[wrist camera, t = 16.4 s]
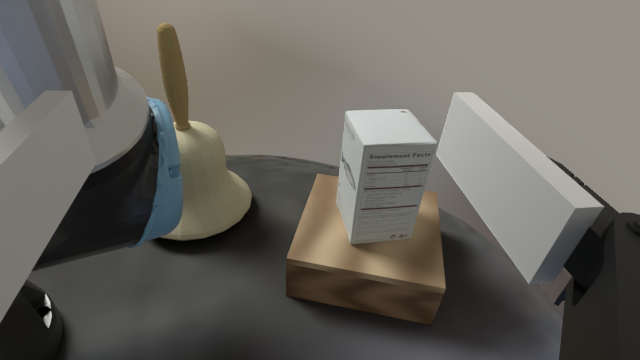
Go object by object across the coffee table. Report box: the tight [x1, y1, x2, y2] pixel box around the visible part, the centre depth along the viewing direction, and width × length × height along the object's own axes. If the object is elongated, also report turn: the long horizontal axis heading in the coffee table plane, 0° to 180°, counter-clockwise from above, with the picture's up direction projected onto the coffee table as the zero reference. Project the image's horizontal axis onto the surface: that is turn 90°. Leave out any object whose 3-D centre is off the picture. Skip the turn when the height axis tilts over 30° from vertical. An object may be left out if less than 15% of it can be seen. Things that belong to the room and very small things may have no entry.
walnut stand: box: [286, 174, 446, 325], centre depth 46 cm, size 16×16×6 cm
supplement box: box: [336, 109, 437, 244], centre depth 40 cm, size 7×7×13 cm
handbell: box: [157, 23, 252, 241], centre depth 46 cm, size 15×15×25 cm
